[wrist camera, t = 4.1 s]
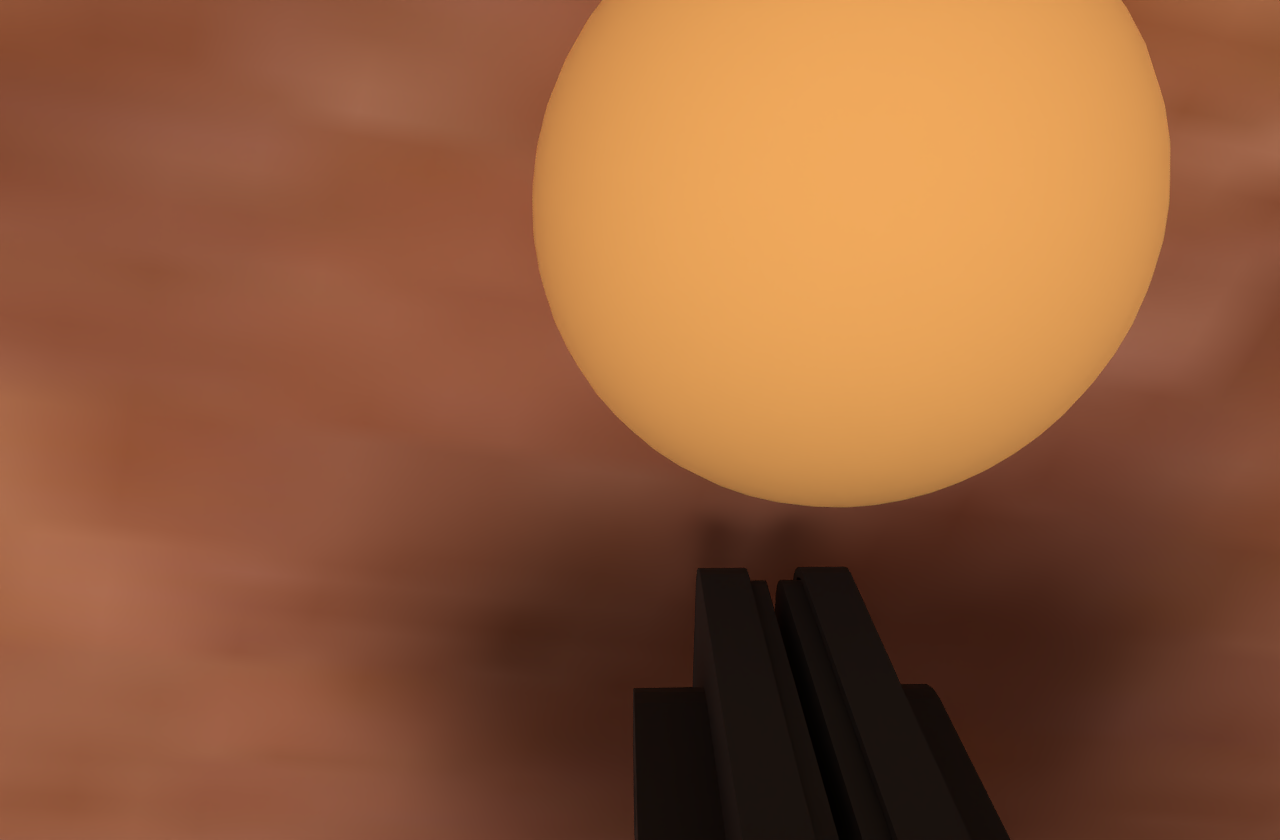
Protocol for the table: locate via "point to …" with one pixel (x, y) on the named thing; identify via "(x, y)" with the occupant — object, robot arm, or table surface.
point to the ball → (849, 229)
